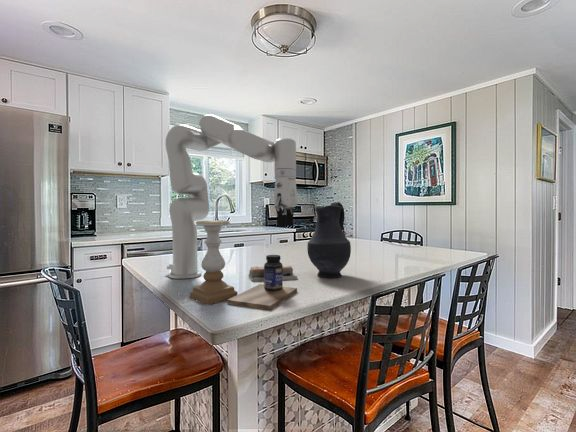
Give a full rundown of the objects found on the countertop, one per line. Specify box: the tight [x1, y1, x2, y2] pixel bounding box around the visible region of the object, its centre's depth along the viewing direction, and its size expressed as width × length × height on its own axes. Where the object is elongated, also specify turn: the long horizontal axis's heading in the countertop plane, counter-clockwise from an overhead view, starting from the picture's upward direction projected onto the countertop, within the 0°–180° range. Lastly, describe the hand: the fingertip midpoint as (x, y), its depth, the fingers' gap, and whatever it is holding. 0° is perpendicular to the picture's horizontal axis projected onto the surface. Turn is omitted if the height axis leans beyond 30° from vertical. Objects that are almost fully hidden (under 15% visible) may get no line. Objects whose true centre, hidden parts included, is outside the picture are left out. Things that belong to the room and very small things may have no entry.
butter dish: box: [248, 265, 298, 282], centre depth 128 cm, size 18×5×10 cm
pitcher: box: [306, 201, 352, 279], centre depth 131 cm, size 17×21×30 cm
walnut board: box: [226, 283, 298, 311], centre depth 100 cm, size 14×20×1 cm
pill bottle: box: [263, 254, 284, 291], centre depth 106 cm, size 6×6×11 cm
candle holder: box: [189, 220, 238, 306], centre depth 100 cm, size 11×11×24 cm
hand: (285, 225), depth 113 cm, fingers open, 5 cm apart
